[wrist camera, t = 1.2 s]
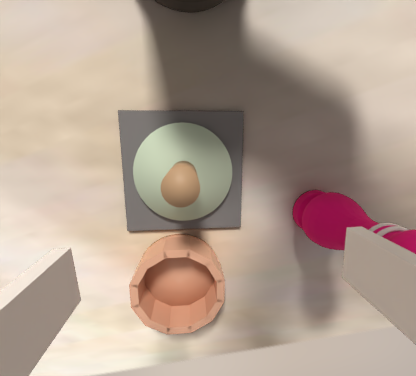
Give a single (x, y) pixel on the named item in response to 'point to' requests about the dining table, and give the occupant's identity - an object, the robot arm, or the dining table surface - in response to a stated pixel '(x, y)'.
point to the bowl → (177, 285)
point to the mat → (151, 120)
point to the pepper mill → (342, 221)
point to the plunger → (182, 171)
